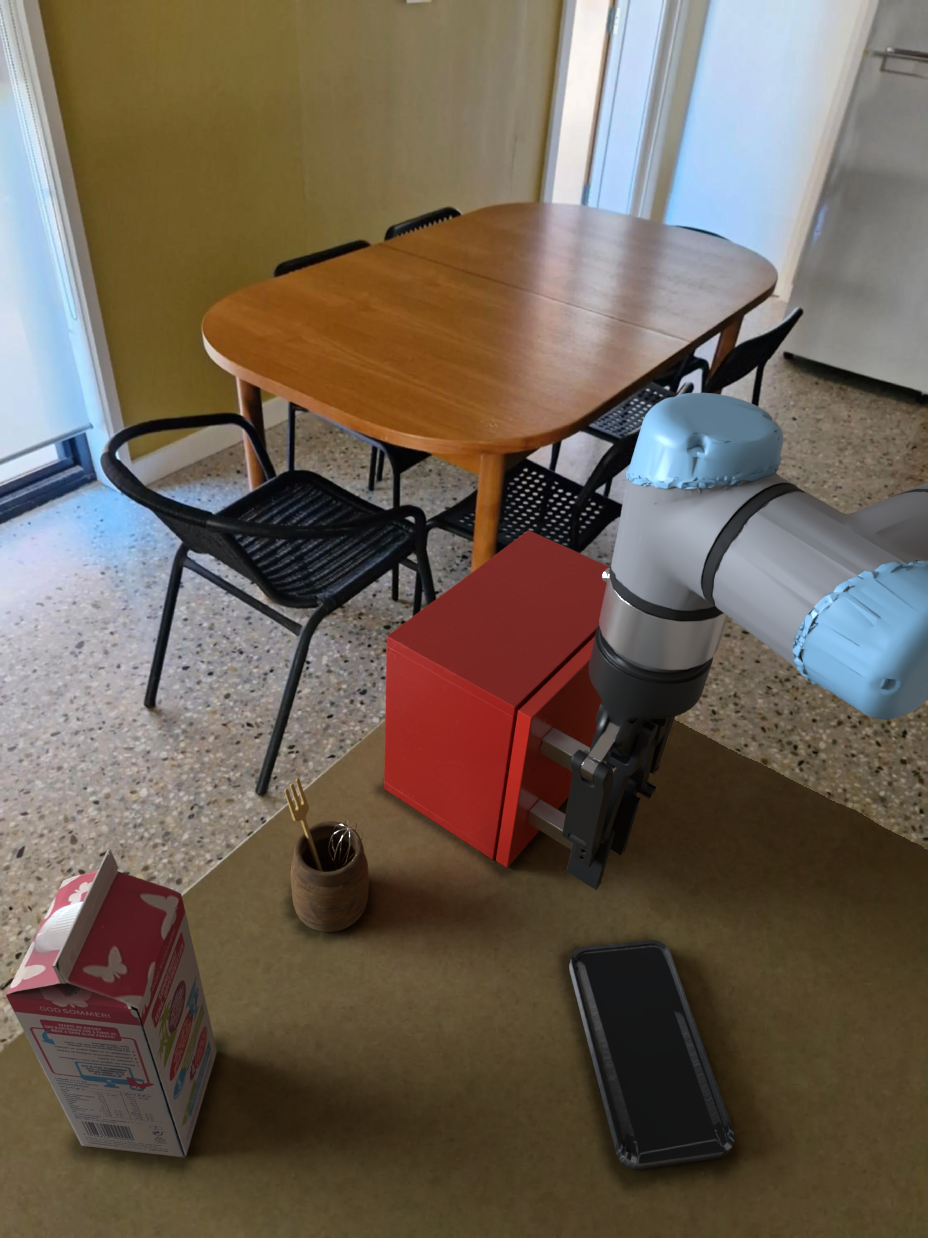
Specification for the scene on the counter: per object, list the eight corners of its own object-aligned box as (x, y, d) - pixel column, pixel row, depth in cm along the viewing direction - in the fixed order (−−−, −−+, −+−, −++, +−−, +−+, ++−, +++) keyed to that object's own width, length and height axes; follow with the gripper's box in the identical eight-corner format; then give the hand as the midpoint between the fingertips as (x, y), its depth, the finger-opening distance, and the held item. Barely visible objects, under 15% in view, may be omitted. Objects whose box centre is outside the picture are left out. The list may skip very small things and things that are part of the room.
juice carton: (81, 1145, 56) (-13, 958, 42) (121, 1040, 61) (49, 843, 47) (185, 1157, 56) (125, 973, 42) (217, 1051, 61) (172, 856, 47)
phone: (624, 1166, 56) (568, 948, 67) (620, 1173, 57) (565, 956, 68) (741, 1149, 57) (667, 938, 68) (737, 1156, 58) (663, 946, 69)
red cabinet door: (680, 765, 84) (728, 621, 73) (571, 910, 71) (609, 761, 60) (611, 728, 87) (646, 584, 76) (495, 861, 74) (517, 710, 63)
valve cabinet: (609, 728, 87) (644, 581, 76) (492, 860, 74) (514, 707, 63) (508, 674, 93) (528, 529, 81) (383, 789, 80) (386, 636, 68)
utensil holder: (338, 949, 67) (334, 853, 60) (274, 908, 70) (262, 810, 62) (383, 893, 71) (385, 796, 64) (322, 856, 74) (316, 758, 66)
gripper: (661, 558, 63) (605, 777, 78) (536, 677, 52) (499, 905, 67) (760, 601, 60) (683, 821, 75) (649, 737, 49) (584, 963, 64)
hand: (596, 860), depth 71 cm, fingers open, 3 cm apart
